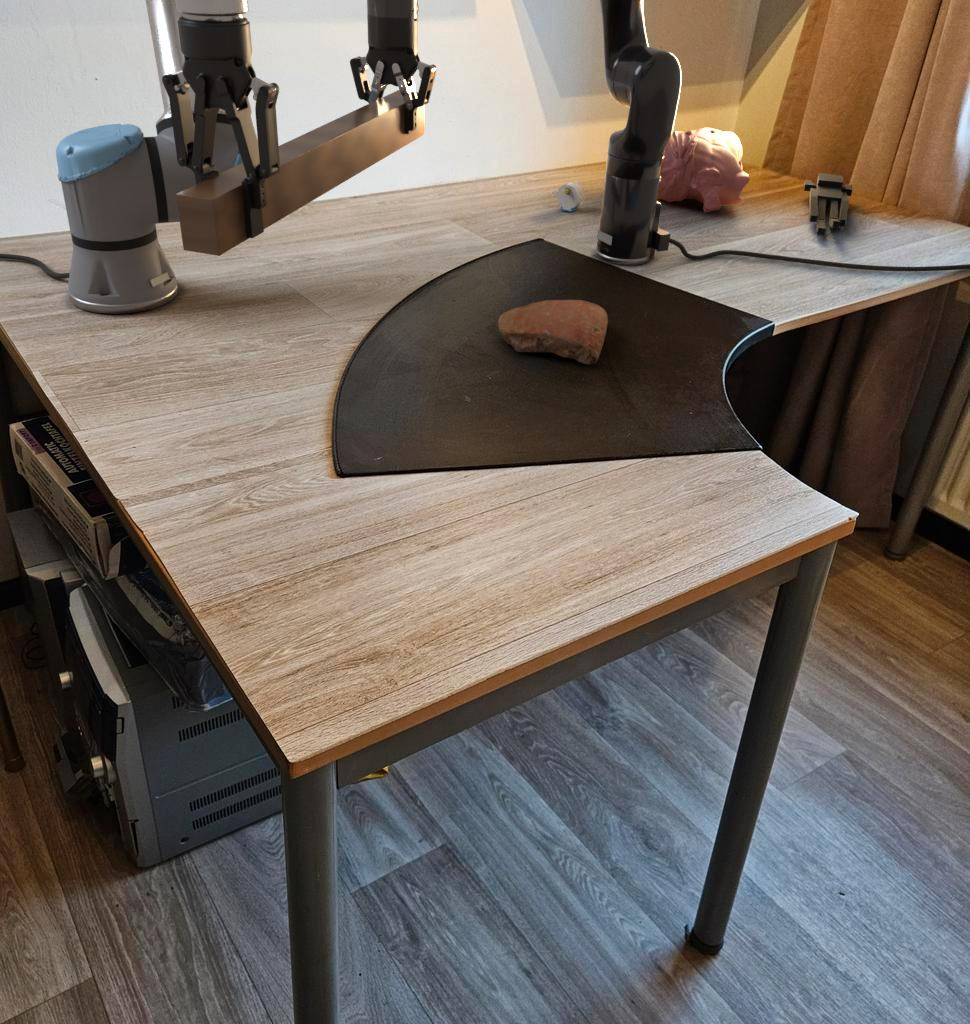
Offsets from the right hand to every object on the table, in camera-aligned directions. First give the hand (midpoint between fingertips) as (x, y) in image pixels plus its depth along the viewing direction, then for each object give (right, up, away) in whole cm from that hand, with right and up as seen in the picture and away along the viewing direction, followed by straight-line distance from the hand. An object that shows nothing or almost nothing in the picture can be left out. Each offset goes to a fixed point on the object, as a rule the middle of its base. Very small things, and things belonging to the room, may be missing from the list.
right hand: (393, 130), depth 153 cm
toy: (+82, -2, +39) cm, 91 cm away
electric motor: (+31, -2, +35) cm, 47 cm away
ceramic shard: (+24, -36, -16) cm, 47 cm away
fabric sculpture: (+58, +8, +51) cm, 77 cm away
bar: (-8, -14, -18) cm, 24 cm away
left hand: (-16, -27, -37) cm, 49 cm away
